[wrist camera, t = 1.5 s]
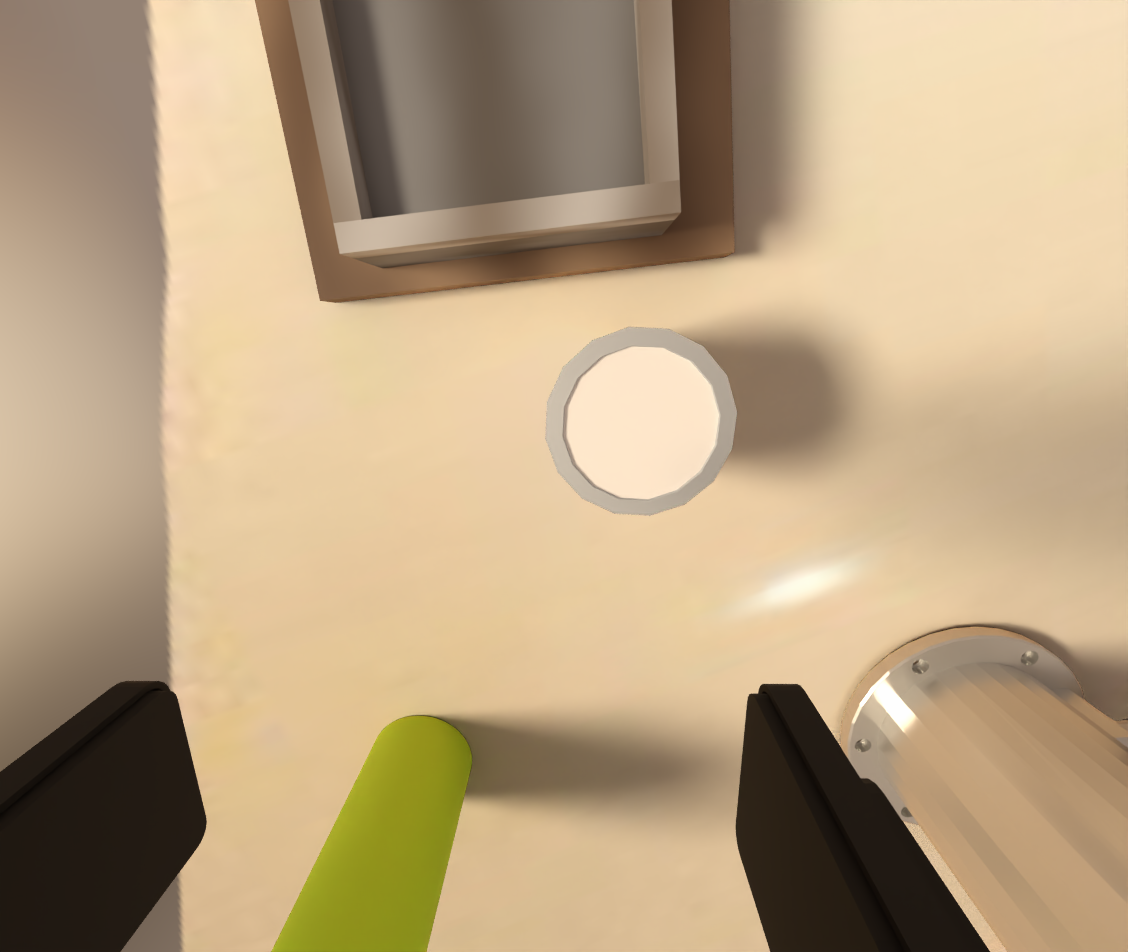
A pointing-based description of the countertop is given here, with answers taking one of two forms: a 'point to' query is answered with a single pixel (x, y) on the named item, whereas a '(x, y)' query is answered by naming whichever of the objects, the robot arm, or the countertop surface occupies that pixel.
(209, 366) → the countertop surface
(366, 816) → the soap dispenser
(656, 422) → the white cup
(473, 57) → the stand
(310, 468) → the countertop surface
